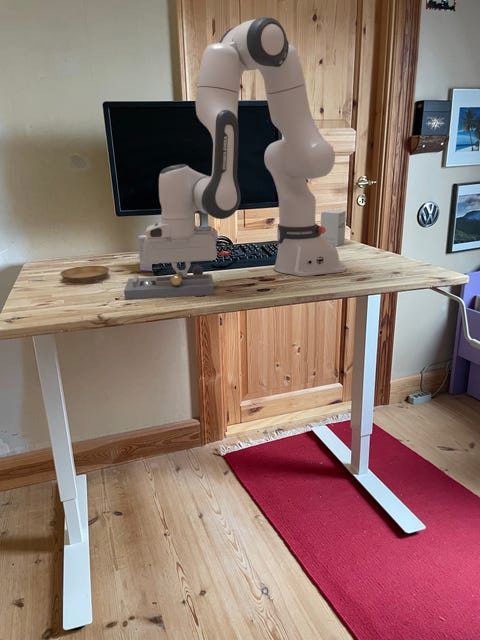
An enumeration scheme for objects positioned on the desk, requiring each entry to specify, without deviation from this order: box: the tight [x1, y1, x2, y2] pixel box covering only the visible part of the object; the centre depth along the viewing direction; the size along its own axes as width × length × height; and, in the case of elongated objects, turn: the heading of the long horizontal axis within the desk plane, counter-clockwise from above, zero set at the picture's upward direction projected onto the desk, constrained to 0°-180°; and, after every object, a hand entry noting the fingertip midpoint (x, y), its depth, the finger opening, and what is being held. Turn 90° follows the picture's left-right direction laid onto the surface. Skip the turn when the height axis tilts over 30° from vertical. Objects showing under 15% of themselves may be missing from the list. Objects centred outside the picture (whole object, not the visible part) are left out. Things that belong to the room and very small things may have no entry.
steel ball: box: [142, 281, 153, 286], centre depth 140 cm, size 3×3×3 cm
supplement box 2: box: [320, 209, 347, 248], centre depth 190 cm, size 7×7×13 cm
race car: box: [218, 250, 232, 256], centre depth 168 cm, size 13×5×4 cm, turn 159°
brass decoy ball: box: [170, 274, 182, 286], centre depth 136 cm, size 3×3×3 cm
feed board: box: [123, 273, 215, 301], centre depth 140 cm, size 24×12×4 cm, turn 96°
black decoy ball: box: [191, 264, 204, 275], centre depth 144 cm, size 3×3×3 cm
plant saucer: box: [59, 265, 110, 284], centre depth 155 cm, size 15×15×3 cm
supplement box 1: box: [137, 233, 153, 273], centre depth 161 cm, size 6×6×12 cm
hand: (182, 277), depth 140 cm, fingers closed
